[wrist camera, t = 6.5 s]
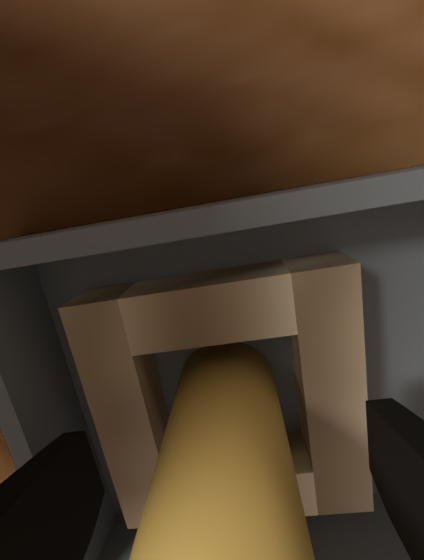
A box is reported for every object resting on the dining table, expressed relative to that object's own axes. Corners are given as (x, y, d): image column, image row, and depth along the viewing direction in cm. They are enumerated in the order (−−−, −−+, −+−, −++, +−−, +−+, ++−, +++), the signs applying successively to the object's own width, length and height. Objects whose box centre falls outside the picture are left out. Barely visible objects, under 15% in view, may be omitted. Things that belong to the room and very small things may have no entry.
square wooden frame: (338, 250, 9) (360, 262, 8) (353, 465, 12) (373, 511, 10) (85, 289, 10) (57, 308, 9) (141, 484, 12) (128, 528, 11)
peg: (266, 332, 10) (366, 746, 3) (280, 416, 11) (389, 920, 3) (171, 348, 11) (13, 751, 3) (191, 427, 11) (109, 905, 4)
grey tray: (548, 142, 9) (718, 116, 6) (516, 483, 12) (616, 585, 9) (18, 236, 10) (-71, 255, 7) (110, 514, 14) (74, 610, 10)
